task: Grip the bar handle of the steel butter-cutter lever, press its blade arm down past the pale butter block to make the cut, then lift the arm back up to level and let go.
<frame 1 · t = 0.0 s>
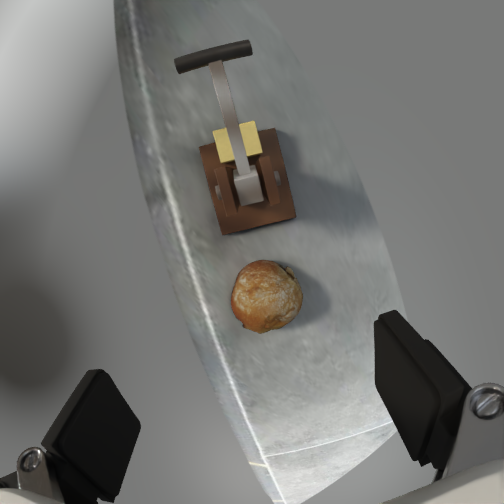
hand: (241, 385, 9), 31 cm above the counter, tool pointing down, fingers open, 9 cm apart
cutter: (248, 181, 37), on the counter
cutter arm: (232, 127, 23), point 13 cm above the counter, hinge at 25.0°
bread roll: (265, 292, 42), on the counter
butter: (238, 144, 35), resting on cutter
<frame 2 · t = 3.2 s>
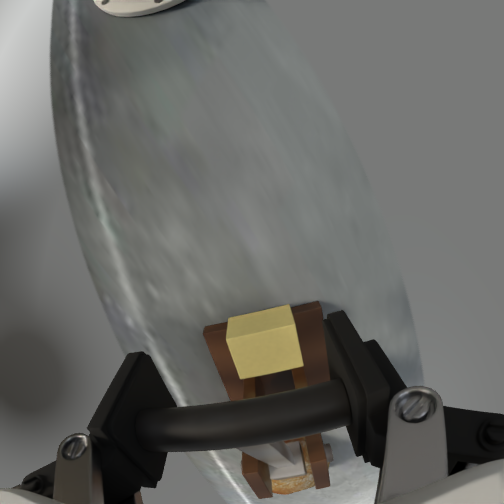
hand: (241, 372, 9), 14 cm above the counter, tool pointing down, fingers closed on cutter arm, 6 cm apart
cutter: (275, 367, 26), on the counter
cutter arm: (274, 452, 11), point 13 cm above the counter, hinge at 25.0°, touching gripper
bread roll: (287, 453, 30), on the counter
butter: (264, 331, 23), resting on cutter
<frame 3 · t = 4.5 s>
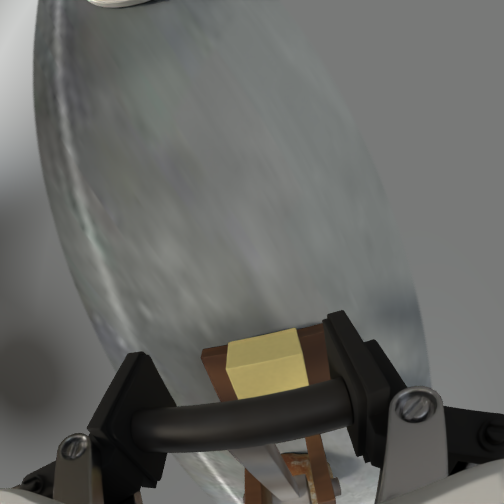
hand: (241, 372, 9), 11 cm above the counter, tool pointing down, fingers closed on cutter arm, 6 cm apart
cutter: (278, 389, 23), on the counter
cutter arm: (277, 477, 10), point 12 cm above the counter, hinge at 12.6°, touching gripper
bread roll: (289, 469, 28), on the counter
butter: (267, 355, 21), resting on cutter
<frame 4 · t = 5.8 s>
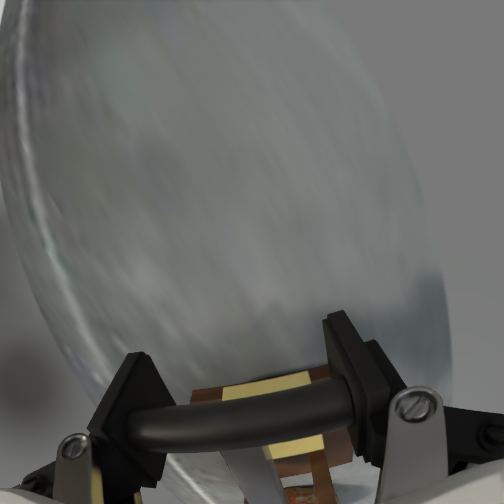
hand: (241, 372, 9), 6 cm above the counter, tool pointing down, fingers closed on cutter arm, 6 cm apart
cutter: (284, 431, 18), on the counter
bread roll: (293, 500, 23), on the counter
butter: (271, 401, 16), resting on cutter
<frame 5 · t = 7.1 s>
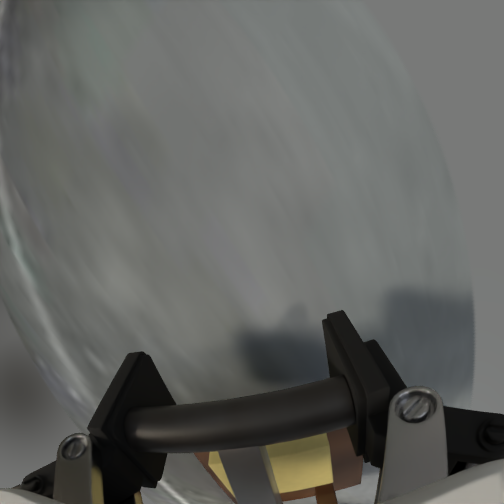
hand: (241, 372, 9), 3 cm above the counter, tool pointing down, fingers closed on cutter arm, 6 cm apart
cutter: (285, 455, 15), on the counter
butter: (272, 429, 13), resting on cutter
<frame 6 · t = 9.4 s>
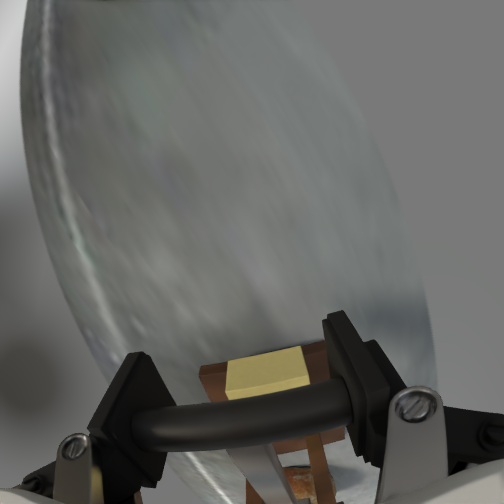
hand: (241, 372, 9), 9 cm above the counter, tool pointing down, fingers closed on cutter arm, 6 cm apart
cutter: (281, 406, 22), on the counter
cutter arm: (279, 495, 9), point 11 cm above the counter, hinge at 3.7°, touching gripper
bread roll: (291, 482, 26), on the counter
butter: (269, 374, 19), resting on cutter
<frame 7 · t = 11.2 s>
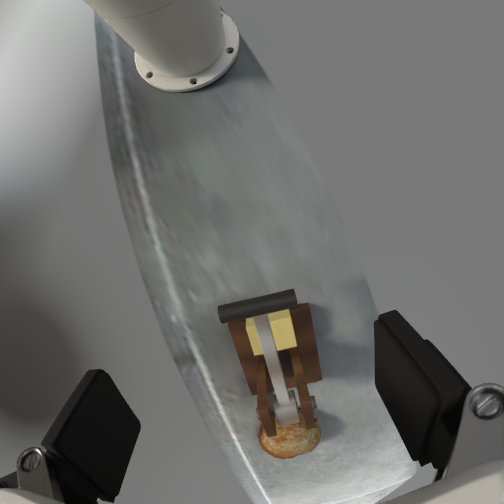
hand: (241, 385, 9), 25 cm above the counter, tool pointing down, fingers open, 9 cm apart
cutter: (278, 351, 36), on the counter
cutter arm: (275, 368, 24), point 11 cm above the counter, hinge at 3.6°
bread roll: (287, 425, 41), on the counter
butter: (270, 323, 34), resting on cutter
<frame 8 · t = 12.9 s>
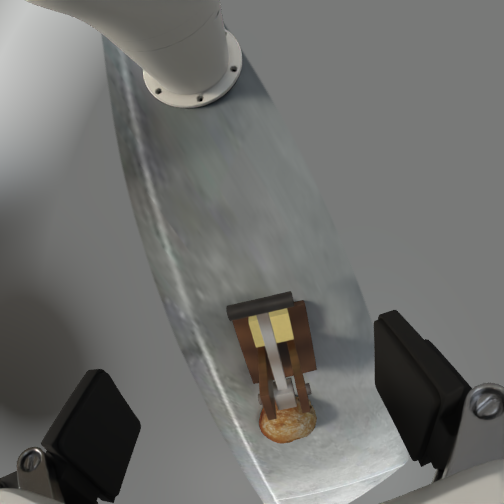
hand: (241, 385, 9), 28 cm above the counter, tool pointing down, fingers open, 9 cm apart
cutter: (276, 343, 41), on the counter
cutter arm: (274, 358, 28), point 11 cm above the counter, hinge at 3.6°
bread roll: (285, 412, 45), on the counter
butter: (270, 318, 38), resting on cutter
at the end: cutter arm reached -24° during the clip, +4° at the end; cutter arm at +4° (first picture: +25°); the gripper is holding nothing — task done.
